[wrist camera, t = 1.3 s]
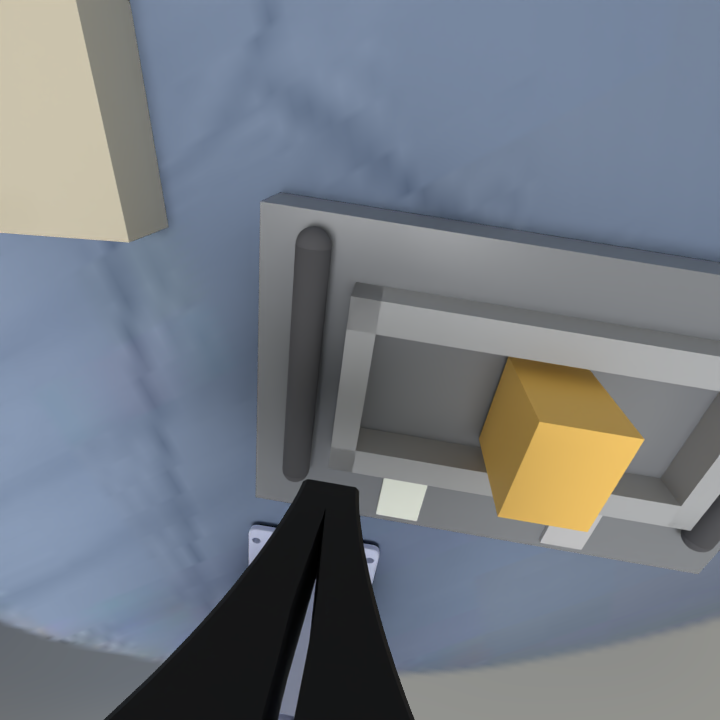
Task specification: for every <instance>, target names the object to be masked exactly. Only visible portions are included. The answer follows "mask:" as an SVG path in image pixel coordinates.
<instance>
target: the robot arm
mask: <svg viewBox="0 0 720 720" xmlns="http://www.w3.org/2000/svg"><path fill="white" fill-rule="evenodd" d="M378 559H379V548H378V547H377V546H375V545H371V544H365V543H363V538H362V530H361V522H360V511H359V490H358V489H357V488H356V487H352V486H346V485H340V484H335V483H329V482H323V481H317V480H311V479H307V480H305V481H303V482H302V485H301V487H300V489H299V491H298V493H297V495H296V497H295V498H294V500H293V502H292V504H291V505H290V507H289V509H288V510H287V512H286V514H285V515H284V517H283V518H282V520H281V522H280V523H279V525H278V526H277V528H274V527H268V526H262V525H253V526H252V527H251V528H250V531H249V566H248V567H247V569H246V570H245V571H244V573H243V574H242V575H241V576H240V578H239V579H238V580H237V582H236V583H235V584H234V585H233V587H232V588H231V589H230V590H229V591H228V593H227V594H226V595H225V596H224V597H223V599H222V600H221V601H220V602H219V603H218V604H217V606H216V607H215V608H214V609H213V610H212V611H211V612H210V614H209V615H208V616H207V617H206V618H205V619H204V620H203V621H202V623H201V624H200V625H199V626H198V627H197V628H196V629H195V630H194V631H193V632H192V633H191V634H190V636H189V637H188V638H187V639H186V640H185V641H184V642H183V643H182V644H181V645H180V646H179V647H178V648H177V649H176V650H175V651H174V652H173V653H172V654H171V655H170V657H169V658H168V659H167V660H166V661H165V662H164V663H163V664H162V665H161V666H160V667H159V668H158V669H157V670H156V671H155V672H154V673H153V674H152V675H151V676H150V677H149V678H148V679H147V680H146V681H145V682H144V683H142V684H141V686H139V687H138V688H137V689H136V690H135V691H134V692H133V693H132V694H131V695H130V696H129V697H128V698H126V699H125V700H124V701H123V702H122V703H121V704H120V705H119V706H118V707H117V708H116V709H115V710H114V711H113V712H112V713H111V714H110V715H108V716H107V717H106V718H105V719H104V720H414V717H413V715H412V712H411V709H410V707H409V704H408V701H407V699H406V696H405V693H404V690H403V687H402V685H401V682H400V679H399V676H398V673H397V670H396V667H395V664H394V661H393V658H392V655H391V652H390V649H389V646H388V642H387V639H386V636H385V632H384V629H383V626H382V622H381V619H380V615H379V611H378V607H377V604H376V600H375V596H374V592H373V588H372V583H373V579H374V575H375V571H376V567H377V563H378Z"/></svg>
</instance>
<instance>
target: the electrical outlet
mask: <svg viewBox="0 0 720 720" xmlns="http://www.w3.org/2000/svg"><path fill="white" fill-rule="evenodd" d="M129 1H130V0H0V233H12V234H25V235H38V236H52V237H65V238H78V239H91V240H105V241H118V242H131V241H134V240H137V239H139V238H142V237H144V236H147V235H149V234H152V233H155V232H157V231H160V230H162V229H165V228H168V222H167V216H166V210H165V204H164V198H163V192H162V187H161V181H160V175H159V169H158V163H157V157H156V152H155V146H154V140H153V134H152V128H151V122H150V117H149V111H148V105H147V99H146V93H145V87H144V81H143V76H142V70H141V64H140V58H139V52H138V46H137V41H136V35H135V29H134V23H133V17H132V11H131V6H130V2H129Z"/></svg>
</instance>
